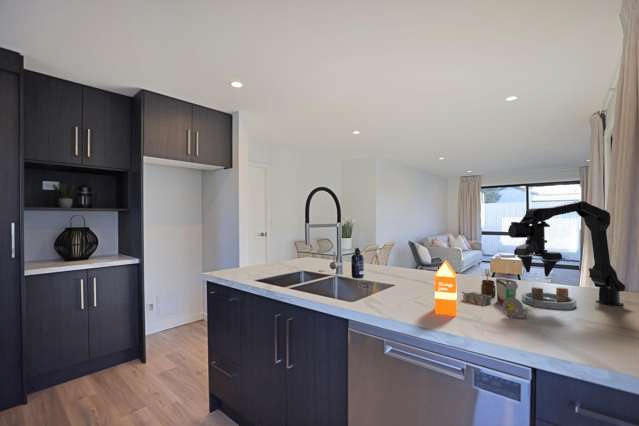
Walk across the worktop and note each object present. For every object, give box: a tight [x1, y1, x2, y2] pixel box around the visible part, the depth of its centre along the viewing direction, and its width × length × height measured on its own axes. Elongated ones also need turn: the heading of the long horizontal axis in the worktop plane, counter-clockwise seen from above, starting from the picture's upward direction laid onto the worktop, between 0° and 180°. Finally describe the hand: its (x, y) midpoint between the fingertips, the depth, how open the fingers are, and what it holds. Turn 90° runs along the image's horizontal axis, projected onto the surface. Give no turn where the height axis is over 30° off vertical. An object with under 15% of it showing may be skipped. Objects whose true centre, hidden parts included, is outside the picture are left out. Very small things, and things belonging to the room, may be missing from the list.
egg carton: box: [461, 291, 492, 306], centre depth 136 cm, size 11×8×4 cm
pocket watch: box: [502, 291, 528, 319], centre depth 115 cm, size 8×8×10 cm
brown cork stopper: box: [555, 286, 569, 303], centre depth 131 cm, size 4×4×6 cm
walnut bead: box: [531, 286, 544, 301], centre depth 132 cm, size 4×4×6 cm
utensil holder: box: [480, 268, 497, 298], centre depth 146 cm, size 6×6×12 cm
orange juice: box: [434, 259, 458, 317], centre depth 123 cm, size 8×9×20 cm
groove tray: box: [521, 291, 577, 310], centre depth 133 cm, size 18×18×2 cm
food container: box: [495, 278, 519, 308], centre depth 131 cm, size 12×6×10 cm, turn 168°
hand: (536, 274), depth 132 cm, fingers open, 9 cm apart
